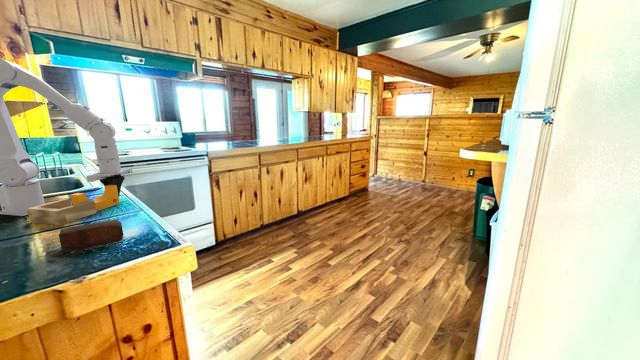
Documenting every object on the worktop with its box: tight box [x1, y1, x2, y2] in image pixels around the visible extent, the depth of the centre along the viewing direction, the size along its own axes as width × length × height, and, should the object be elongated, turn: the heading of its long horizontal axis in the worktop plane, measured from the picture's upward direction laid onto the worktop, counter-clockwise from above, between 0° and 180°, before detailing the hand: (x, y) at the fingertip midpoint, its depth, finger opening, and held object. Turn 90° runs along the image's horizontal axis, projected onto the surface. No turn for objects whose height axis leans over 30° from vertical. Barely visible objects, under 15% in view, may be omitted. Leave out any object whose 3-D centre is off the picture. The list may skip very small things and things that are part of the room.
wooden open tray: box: [27, 197, 98, 226], centre depth 74 cm, size 10×10×4 cm
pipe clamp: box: [70, 185, 121, 212], centre depth 80 cm, size 12×4×6 cm, turn 170°
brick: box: [58, 219, 124, 253], centre depth 58 cm, size 11×4×5 cm, turn 129°
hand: (115, 196), depth 89 cm, fingers closed
